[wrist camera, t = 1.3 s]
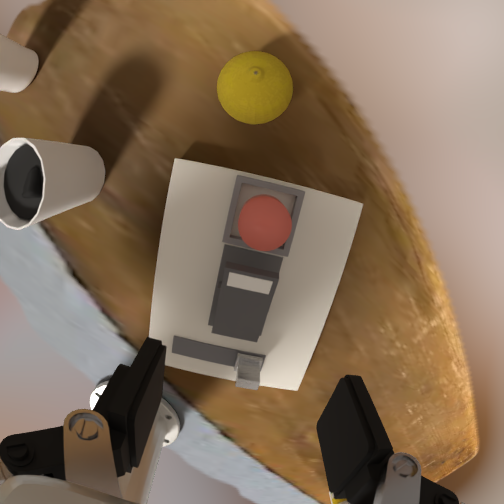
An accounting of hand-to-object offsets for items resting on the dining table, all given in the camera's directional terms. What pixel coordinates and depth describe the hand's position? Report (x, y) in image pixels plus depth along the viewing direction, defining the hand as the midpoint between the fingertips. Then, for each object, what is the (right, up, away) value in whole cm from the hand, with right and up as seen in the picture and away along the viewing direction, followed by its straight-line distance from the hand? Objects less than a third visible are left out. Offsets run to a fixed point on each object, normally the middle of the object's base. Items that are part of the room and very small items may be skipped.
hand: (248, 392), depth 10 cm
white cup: (-17, +13, +15) cm, 26 cm away
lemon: (0, +18, +13) cm, 23 cm away
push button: (+1, +8, +13) cm, 15 cm away
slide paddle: (0, -5, +17) cm, 18 cm away
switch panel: (-1, +2, +18) cm, 18 cm away
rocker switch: (-1, +1, +13) cm, 13 cm away
